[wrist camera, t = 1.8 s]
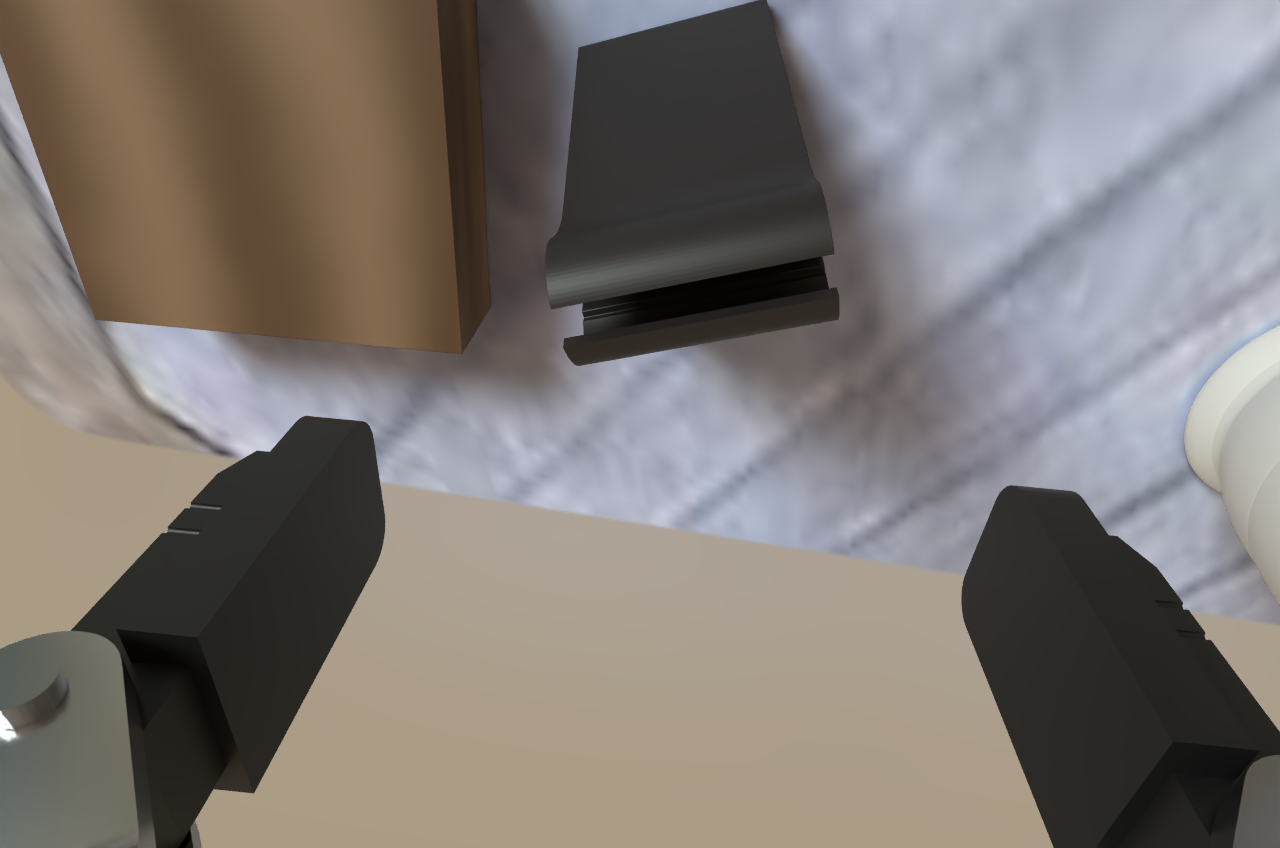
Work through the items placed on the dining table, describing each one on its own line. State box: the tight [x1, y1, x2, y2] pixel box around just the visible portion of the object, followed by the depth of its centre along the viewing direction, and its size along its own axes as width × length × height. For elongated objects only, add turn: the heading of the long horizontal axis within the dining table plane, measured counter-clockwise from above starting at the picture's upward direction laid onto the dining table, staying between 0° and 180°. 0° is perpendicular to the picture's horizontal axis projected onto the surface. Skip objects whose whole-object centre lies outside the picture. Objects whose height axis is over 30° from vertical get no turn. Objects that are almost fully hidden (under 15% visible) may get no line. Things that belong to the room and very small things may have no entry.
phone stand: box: [545, 0, 839, 366], centre depth 21 cm, size 9×6×12 cm, turn 13°
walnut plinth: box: [0, 0, 490, 354], centre depth 24 cm, size 13×13×4 cm
